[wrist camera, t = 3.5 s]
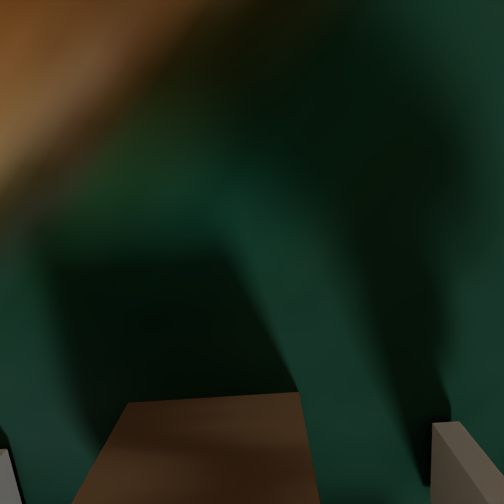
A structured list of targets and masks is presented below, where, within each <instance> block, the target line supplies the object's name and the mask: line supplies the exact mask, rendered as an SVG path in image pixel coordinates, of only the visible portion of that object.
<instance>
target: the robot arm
mask: <svg viewBox="0 0 504 504" xmlns="http://www.w3.org/2000/svg"><path fill="white" fill-rule="evenodd" d="M430 502H431V504H504V476H503V475H502V474H501V472H500V471H499V470H498V469H497V467H496V466H495V465H494V464H493V463H492V461H491V460H490V459H489V458H488V456H487V455H486V454H485V453H484V451H483V450H482V449H481V448H480V446H479V445H478V444H477V443H476V442H475V440H474V439H473V438H472V437H471V435H470V434H469V433H468V432H467V430H466V429H465V428H464V427H463V426H462V424H461V423H460V422H459V421H457V422H441V423H432V453H431V488H430ZM0 504H22V502H21V499H20V495H19V491H18V487H17V484H16V480H15V476H14V473H13V469H12V465H11V461H10V458H9V454H8V450H7V449H0Z"/></svg>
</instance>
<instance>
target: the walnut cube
mask: <svg viewBox="0 0 504 504" xmlns="http://www.w3.org/2000/svg"><path fill="white" fill-rule="evenodd" d="M71 504H320V500H319V494H318V489H317V484H316V479H315V473H314V468H313V463H312V458H311V452H310V447H309V442H308V437H307V431H306V426H305V421H304V416H303V411H302V405H301V400H300V395H299V392H289V393H273V394H258V395H242V396H226V397H211V398H195V399H180V400H164V401H148V402H133V403H128V404H127V406H126V407H125V409H124V411H123V413H122V414H121V416H120V418H119V420H118V422H117V423H116V425H115V427H114V429H113V431H112V432H111V434H110V436H109V438H108V439H107V441H106V443H105V445H104V447H103V448H102V450H101V452H100V454H99V455H98V457H97V459H96V461H95V463H94V464H93V466H92V468H91V470H90V471H89V473H88V475H87V477H86V479H85V480H84V482H83V484H82V486H81V487H80V489H79V491H78V493H77V495H76V496H75V498H74V500H73V502H72V503H71Z"/></svg>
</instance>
